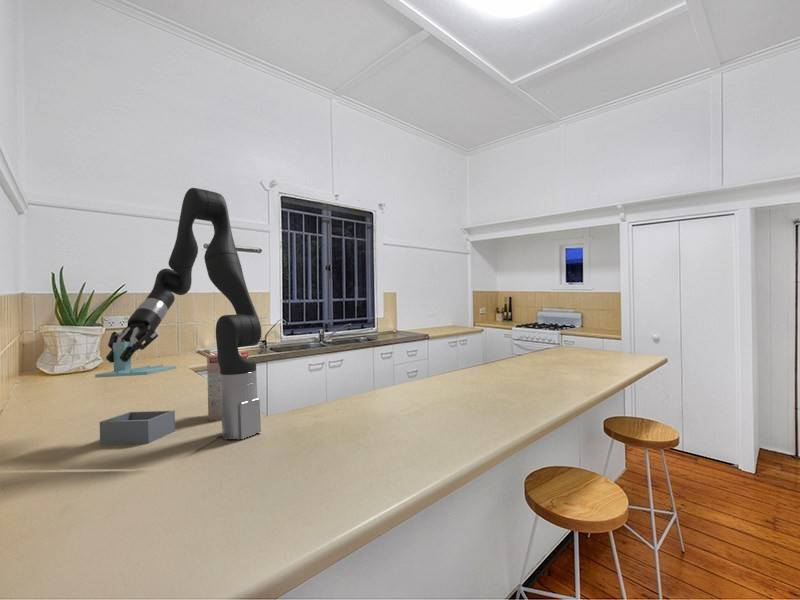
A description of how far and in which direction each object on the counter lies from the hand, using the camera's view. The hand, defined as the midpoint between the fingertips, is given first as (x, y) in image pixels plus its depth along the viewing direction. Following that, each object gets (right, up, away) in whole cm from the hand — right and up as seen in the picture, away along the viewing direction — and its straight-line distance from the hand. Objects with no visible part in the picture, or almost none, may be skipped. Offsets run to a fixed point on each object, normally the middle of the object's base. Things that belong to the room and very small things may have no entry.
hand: (116, 360), depth 102 cm
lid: (+5, -4, +1) cm, 6 cm away
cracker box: (+22, -22, +22) cm, 38 cm away
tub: (+6, -22, +1) cm, 23 cm away
